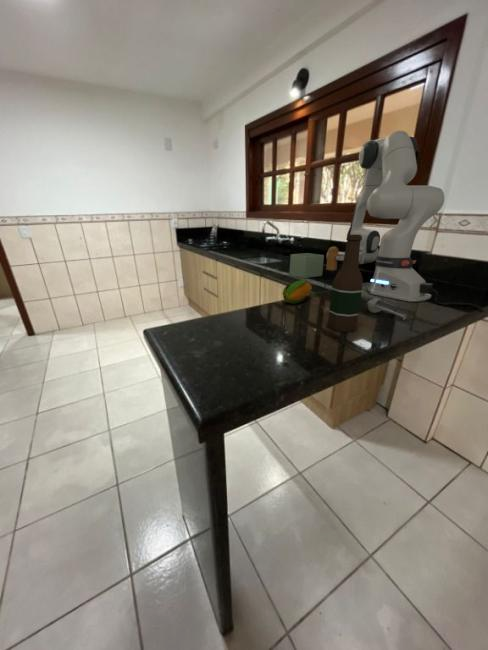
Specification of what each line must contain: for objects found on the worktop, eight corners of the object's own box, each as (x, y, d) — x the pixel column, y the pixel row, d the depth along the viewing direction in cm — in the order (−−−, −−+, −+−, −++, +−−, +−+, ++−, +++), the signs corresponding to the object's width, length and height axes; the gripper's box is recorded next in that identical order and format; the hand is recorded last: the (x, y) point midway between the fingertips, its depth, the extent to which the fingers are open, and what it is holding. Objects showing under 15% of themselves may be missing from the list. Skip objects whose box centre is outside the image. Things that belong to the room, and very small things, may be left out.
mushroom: (404, 309, 74) (366, 294, 82) (396, 324, 75) (359, 308, 84) (413, 310, 78) (376, 296, 87) (406, 324, 80) (370, 309, 88)
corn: (278, 283, 88) (301, 274, 104) (276, 304, 91) (299, 292, 107) (298, 287, 85) (319, 277, 100) (295, 309, 88) (316, 296, 103)
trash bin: (322, 275, 141) (324, 255, 137) (304, 278, 136) (305, 256, 132) (306, 272, 152) (308, 253, 148) (289, 274, 146) (290, 254, 142)
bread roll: (338, 269, 137) (341, 246, 133) (331, 270, 135) (333, 246, 131) (331, 268, 142) (333, 245, 138) (324, 269, 139) (326, 246, 135)
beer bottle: (323, 322, 76) (333, 234, 67) (350, 322, 75) (364, 234, 67) (331, 332, 68) (343, 235, 60) (361, 332, 68) (378, 235, 59)
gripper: (339, 248, 149) (319, 249, 144) (367, 251, 131) (346, 252, 126) (337, 260, 151) (318, 261, 146) (365, 264, 133) (344, 266, 128)
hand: (331, 257), depth 136 cm, fingers closed on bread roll, 5 cm apart
